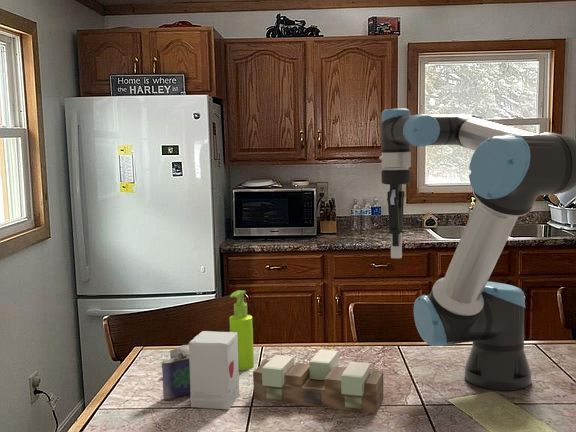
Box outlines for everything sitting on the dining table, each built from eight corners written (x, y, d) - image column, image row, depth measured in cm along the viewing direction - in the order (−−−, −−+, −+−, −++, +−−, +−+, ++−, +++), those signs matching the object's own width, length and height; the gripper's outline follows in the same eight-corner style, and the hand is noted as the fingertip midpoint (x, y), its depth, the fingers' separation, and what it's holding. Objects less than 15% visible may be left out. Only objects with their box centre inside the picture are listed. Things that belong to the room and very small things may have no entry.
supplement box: (229, 410, 139) (226, 343, 138) (190, 408, 141) (187, 342, 139) (240, 394, 148) (238, 331, 146) (203, 392, 150) (201, 330, 148)
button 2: (370, 380, 143) (370, 363, 143) (362, 395, 135) (361, 377, 134) (351, 378, 145) (350, 361, 144) (341, 393, 136) (341, 375, 136)
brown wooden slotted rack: (383, 399, 143) (383, 371, 143) (376, 414, 136) (376, 384, 135) (266, 386, 152) (265, 360, 152) (253, 400, 145) (252, 372, 144)
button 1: (294, 373, 149) (293, 356, 149) (281, 387, 141) (281, 369, 140) (276, 371, 151) (275, 354, 150) (262, 385, 142) (261, 367, 142)
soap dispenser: (225, 370, 164) (222, 293, 162) (237, 361, 171) (234, 287, 168) (246, 372, 162) (243, 295, 160) (257, 363, 168) (255, 289, 166)
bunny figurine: (207, 340, 176) (202, 352, 161) (207, 359, 176) (202, 372, 161) (172, 342, 176) (164, 353, 161) (173, 360, 176) (164, 374, 161)
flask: (165, 402, 145) (163, 356, 144) (161, 397, 147) (158, 352, 146) (203, 393, 150) (201, 348, 148) (198, 389, 152) (196, 345, 151)
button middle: (338, 367, 152) (338, 350, 152) (328, 380, 144) (328, 363, 143) (320, 365, 154) (320, 349, 153) (309, 378, 145) (309, 361, 145)
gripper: (386, 167, 175) (386, 253, 177) (376, 170, 162) (377, 261, 165) (413, 167, 172) (414, 254, 175) (406, 169, 160) (407, 262, 163)
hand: (396, 257), depth 170 cm, fingers closed
